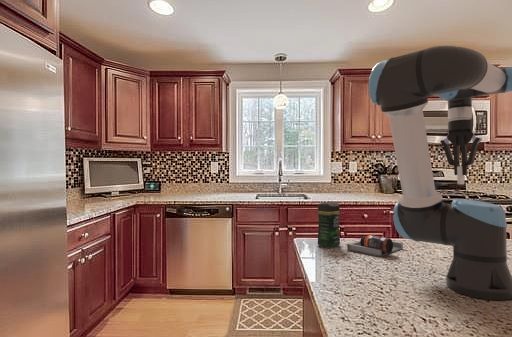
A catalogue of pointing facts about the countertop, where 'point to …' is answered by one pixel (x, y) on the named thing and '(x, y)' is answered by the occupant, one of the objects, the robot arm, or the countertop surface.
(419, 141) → the robot arm
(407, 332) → the countertop surface
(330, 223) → the coffee jar
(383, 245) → the supplement bottle
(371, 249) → the tray
